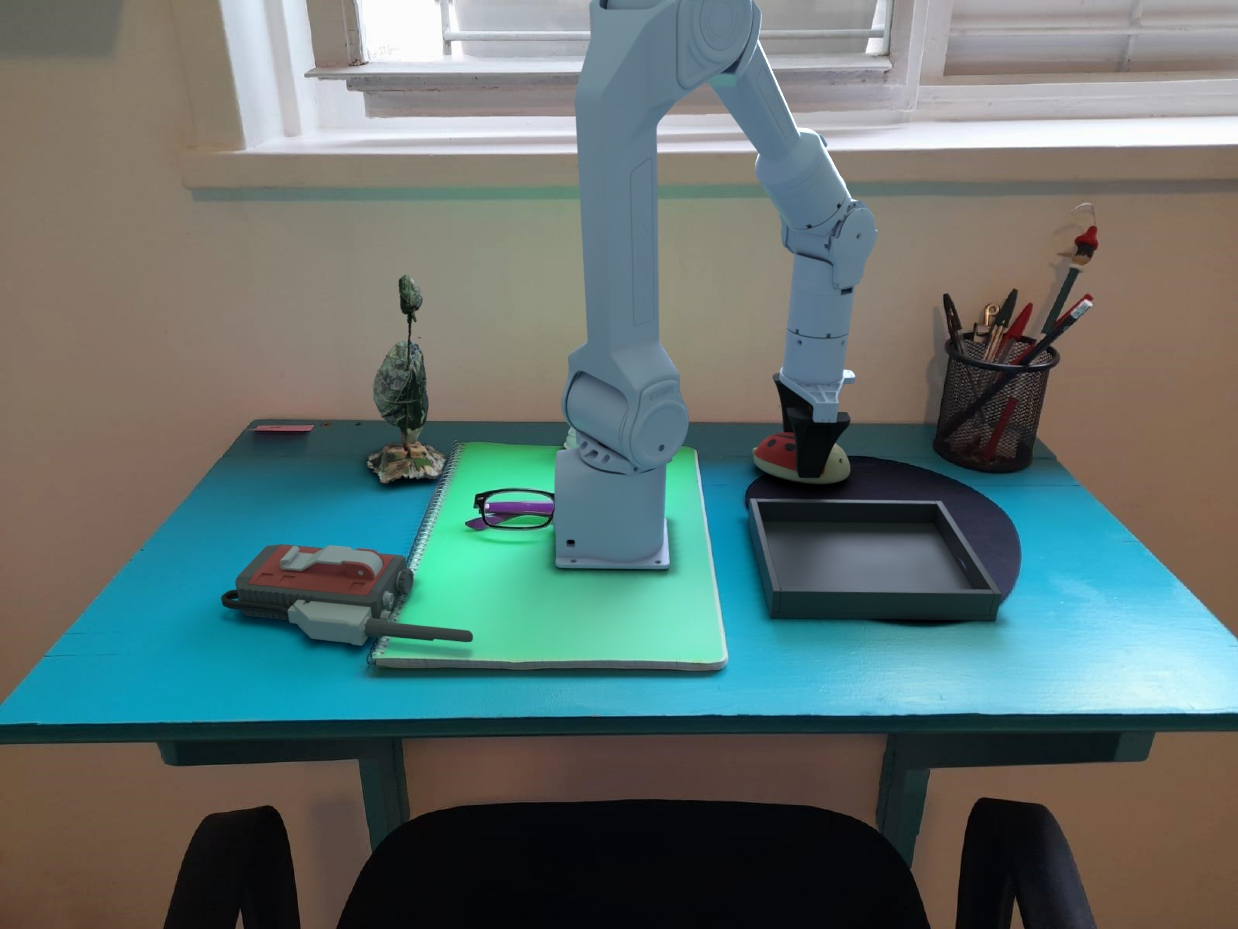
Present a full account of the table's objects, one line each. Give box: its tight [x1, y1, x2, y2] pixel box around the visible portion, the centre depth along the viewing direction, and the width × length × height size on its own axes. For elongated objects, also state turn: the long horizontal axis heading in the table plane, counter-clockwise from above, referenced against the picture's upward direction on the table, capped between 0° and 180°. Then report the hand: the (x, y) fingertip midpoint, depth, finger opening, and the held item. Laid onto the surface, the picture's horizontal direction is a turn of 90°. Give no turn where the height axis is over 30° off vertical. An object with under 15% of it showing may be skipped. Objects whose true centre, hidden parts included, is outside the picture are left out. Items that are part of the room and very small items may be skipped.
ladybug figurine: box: [751, 431, 851, 485], centre depth 87 cm, size 7×10×4 cm
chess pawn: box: [563, 426, 579, 450], centre depth 91 cm, size 3×3×5 cm
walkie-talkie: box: [220, 543, 474, 647], centre depth 66 cm, size 9×4×20 cm
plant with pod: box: [366, 273, 447, 484], centre depth 84 cm, size 8×11×20 cm
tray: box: [747, 498, 1003, 622], centre depth 72 cm, size 17×14×2 cm
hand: (802, 459), depth 87 cm, fingers closed on ladybug figurine, 7 cm apart
